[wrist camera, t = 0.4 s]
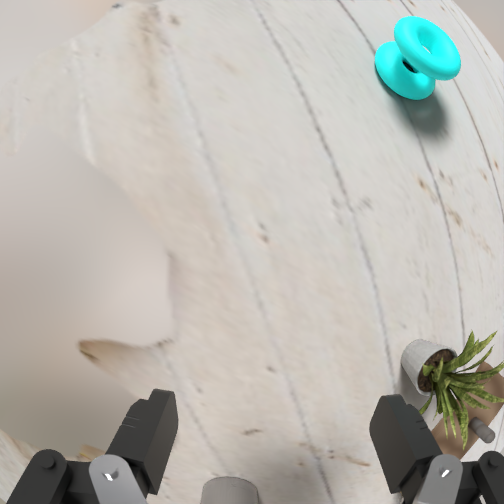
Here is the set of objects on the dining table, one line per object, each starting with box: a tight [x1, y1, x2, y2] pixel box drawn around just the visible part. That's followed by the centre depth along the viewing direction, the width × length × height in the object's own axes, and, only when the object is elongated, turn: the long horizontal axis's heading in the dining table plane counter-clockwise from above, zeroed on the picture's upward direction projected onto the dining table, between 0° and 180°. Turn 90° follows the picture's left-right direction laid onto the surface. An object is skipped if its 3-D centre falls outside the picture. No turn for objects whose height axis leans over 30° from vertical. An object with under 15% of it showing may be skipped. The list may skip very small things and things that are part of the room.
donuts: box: [375, 16, 461, 100], centre depth 28 cm, size 10×10×10 cm
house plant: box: [401, 331, 504, 451], centre depth 27 cm, size 14×14×16 cm
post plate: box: [431, 361, 504, 460], centre depth 32 cm, size 20×15×9 cm
